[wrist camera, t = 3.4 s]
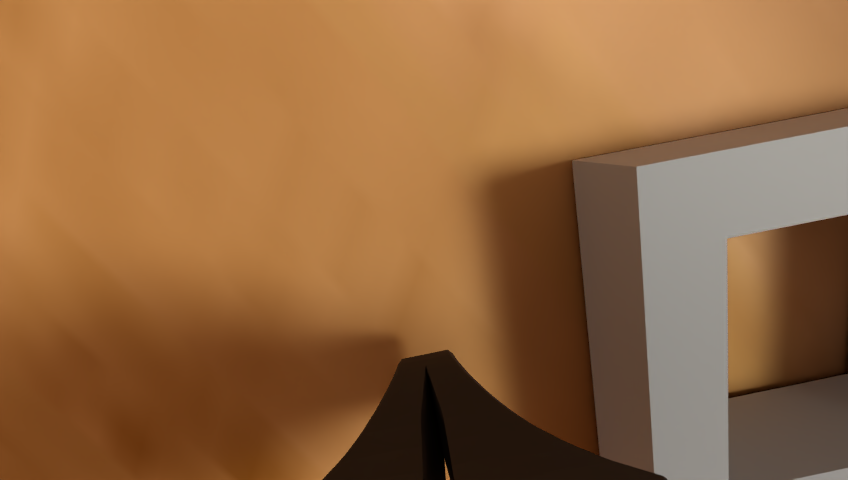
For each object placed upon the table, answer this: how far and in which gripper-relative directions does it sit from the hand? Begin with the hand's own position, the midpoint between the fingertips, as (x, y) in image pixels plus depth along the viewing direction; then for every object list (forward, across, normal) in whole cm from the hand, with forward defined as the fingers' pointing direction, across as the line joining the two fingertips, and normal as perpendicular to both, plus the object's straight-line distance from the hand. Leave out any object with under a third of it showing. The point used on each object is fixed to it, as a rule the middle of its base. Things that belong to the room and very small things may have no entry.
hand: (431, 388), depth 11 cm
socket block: (+1, -10, 0) cm, 10 cm away
